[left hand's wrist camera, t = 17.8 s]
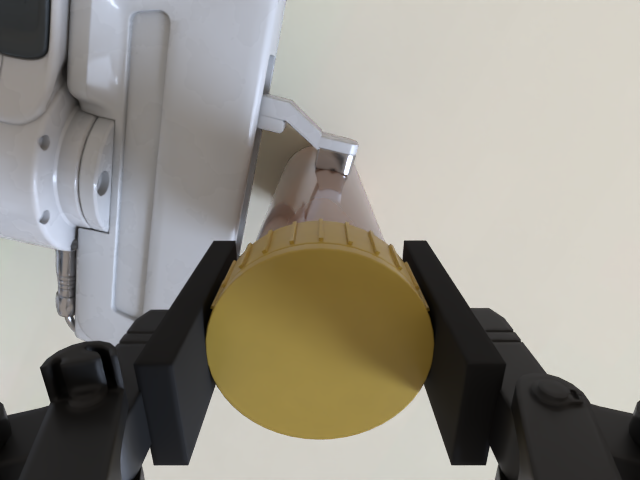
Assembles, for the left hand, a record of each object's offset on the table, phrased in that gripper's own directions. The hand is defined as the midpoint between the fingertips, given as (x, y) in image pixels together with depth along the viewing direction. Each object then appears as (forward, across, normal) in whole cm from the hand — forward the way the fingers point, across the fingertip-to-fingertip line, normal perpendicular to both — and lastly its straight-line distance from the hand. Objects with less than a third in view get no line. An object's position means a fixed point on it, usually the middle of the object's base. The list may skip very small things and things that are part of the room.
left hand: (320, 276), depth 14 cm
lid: (-4, 0, 0) cm, 4 cm away
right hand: (+7, -1, 0) cm, 7 cm away
